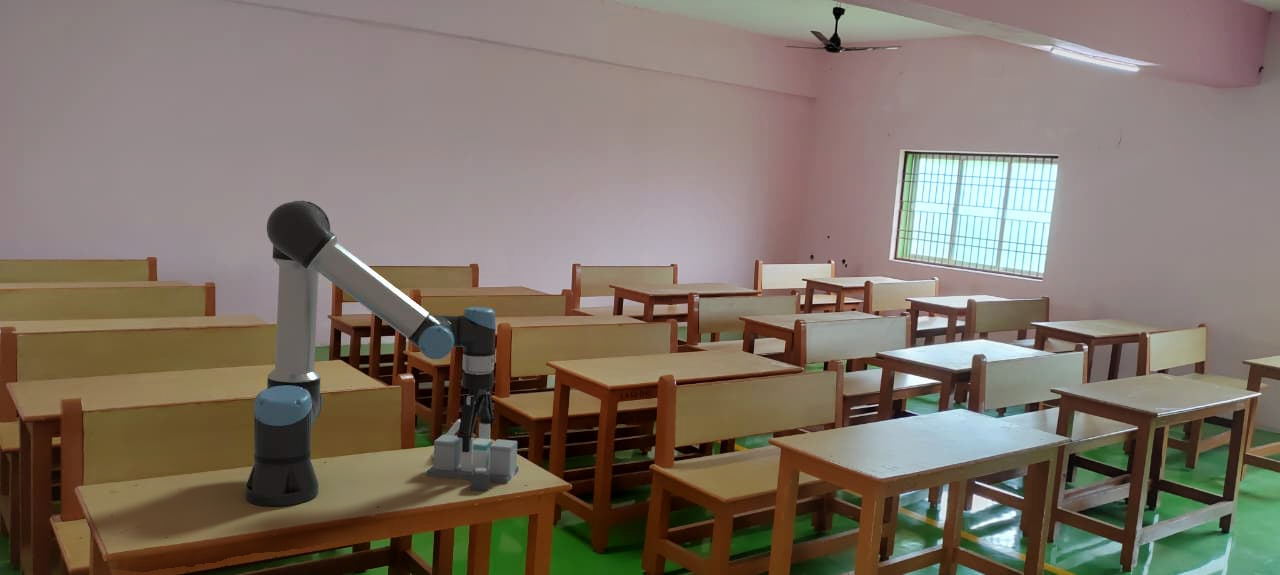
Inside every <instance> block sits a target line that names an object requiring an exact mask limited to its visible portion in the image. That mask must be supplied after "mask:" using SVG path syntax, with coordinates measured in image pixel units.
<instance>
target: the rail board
mask: <svg viewBox="0 0 1280 575" xmlns="http://www.w3.org/2000/svg"><path fill="white" fill-rule="evenodd" d="M433 445H434V447H433V449H434V450H433V452H434V458H433V465H432V466H431V467H430V468H428V469H427V470H426V477H435V478H436V477H438V478H446V479H447V478H448V479H457V480H465V481H466V480H467V481H468V480H469V481H471V474H472V472H469V471H461V467H462V464H461V438H458V437H457V435H456V434H454V435H446V434H441V435H440V436H439V437H438V438H437V439H435V440H434V442H433ZM517 453H518V441H517V440H510V439H509V440H508V439H499V438H498V439H496V440H495V441H494V442H492V445H491V446H490V480H489V483H499V484H500V483H501V484H508V483H509V482H510V481H511V480H512V478H513V477H514V476H515V475H516V474H517V473H518V472H519V466H518V465H517V460H518V459H517V457H518V454H517Z"/></svg>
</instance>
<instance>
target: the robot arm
mask: <svg viewBox="0 0 1280 575" xmlns="http://www.w3.org/2000/svg"><path fill="white" fill-rule="evenodd" d="M266 232H267V237H268V239H269V241H270V243H271V244H272V260H273V261H274V262H275V264H277V265H278V267H279V268H278V288H277V289H278V290H277V291H278V292H277V315H276V337H275V338H276V339H275V359H274V369H273V370H272V371H271V372H269V373H268V374H267V385H266V386H267V387H266V388H265V389H263V390H261V391H259V392H258V393H257V394H256V396H255V399H254V405H253V416H254V419H253V420H254V421H253V423H254V425H253V426H254V427H253V428H254V429H253V432H254V433H253V449H254V450H253V451H254V452H253V453H254V454H253V456H254V457H253V465H252V468H251V470H250V474H249V476H248V479H247V482H246V484H245V490H244V493H245V496H244V498H245V500H246V501H247V502H249V503H251V504H253V505H257V506H258V505H259V506H265V507H281V506H282V507H283V506H290V505H296V504H301V503H306V502H308V501H310V500H312V499H314V498H316V496H318V495H319V481H318V478H317V475H316V472H315V468H314V466H313V463H312V461H311V450H312V449H311V448H312V447H311V445H312V444H311V441H312V438H311V436H312V434H311V433H312V426H314V423H315V422H316V421H317V419H318V418H319V416H320V413H321V411H322V407H323V399H322V395H321V374H320V373H319V372H317V371H316V369H315V357H316V355H315V354H316V335H317V333H316V332H317V312H318V295H319V294H318V293H319V292H318V290H319V274H320V275H322V276H323V277H324V278H325V279H327V280H328V281H330V282H331V283H332V284H334V285H335V286H336V287H338V288H339V289H341V290H342V291H343V292H345V293H346V294H347V295H349V296H350V297H351V298H352V299H354V300H355V301H357V302H358V303H359V304H361V305H362V306H363V307H364V308H366V309H367V310H368V311H370V312H371V313H373V314H374V315H375V316H376V317H378V318H379V319H380V320H382V321H383V322H384V323H386V324H388V326H389V327H391V328H392V329H394V330H395V331H397V332H398V333H399V334H401V335H402V337H403V336H404V338H406V339H407V340H409V342H410V343H412V344H413V346H414V347H417V348H418V349H419V351H421V353H422V355H424V357H426V358H429V360H441V359H444V358H446V357H447V356H448V355H450V353H451V352H452V350H453V348H455V347H456V348H460V347H462V348H463V349H462V368H461V369H462V370H463V372H462V378H461V380H462V381H461V386H462V387H463V388H464V389H467V390H469V392H468V395H464V396H463V401H462V402H463V404H462V411H461V416H460V420H461V421H460V427H459V429H458V431H457V432H458V433H457V435H456V436H457V437H458V438H461V464H462V465H472V464H473V438H474V437H473V433H474V429H475V426H476V423H477V422H476V421H477V418H478V417H479V419H480V420H479V421H480V422H479V424H478V438H482V439H491V424H495V418H494V417H495V416H494V409H493V408H494V407H493V402H492V401H493V400H492V393H491V392H492V391H491V390H492V388H493V387H494V384H495V382H494V381H495V380H494V378H495V374H494V372H493V371H494V369H495V363H496V362H497V359H496V358H495V351H496V348H495V347H496V329H497V327H496V311H494V309H492V308H490V307H483V306H470V307H466V308H465V309H464V312H463V315H437V314H436V315H435V314H434V315H433V314H431V313H429V311H427V310H426V309H424V308H423V307H422V306H420V304H418V303H417V302H415V301H414V300H413V299H412V298H410V297H409V296H408V295H407V294H405V293H403V292H402V291H401V290H400V289H398V288H397V287H396V286H394V285H393V284H392V283H391V282H389V281H388V280H387V279H386V278H385V277H383V276H382V275H380V274H379V273H377V272H376V271H375V270H374V269H373V268H371V267H370V266H369V265H367V264H366V263H365V262H364V261H362V260H361V259H360V258H358V257H357V256H355V255H354V254H353V253H352V252H350V251H349V250H348V249H346V248H345V247H344V246H342V245H341V244H340V243H339V242H338V237H337V235H336V234H335V233H333V231H331V223H330V220H329V216H328V215H327V213H326V212H325V211H324V210H323V209H322V208H321V207H320V206H319V205H317V204H315V202H312V201H306V200H293V201H288V202H285V203H282V204H281V205H278V206H277V207H276V208H275V209H273V210H272V212H271V213H270V215H269V216H268V219H267V222H266Z"/></svg>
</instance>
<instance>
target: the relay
mask: <svg viewBox="0 0 1280 575" xmlns="http://www.w3.org/2000/svg"><path fill="white" fill-rule="evenodd" d="M489 480H490V469H486V468H476V469H473V470H472V474H471V480H470V491H471V492H489V490H490V482H489Z"/></svg>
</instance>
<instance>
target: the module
mask: <svg viewBox="0 0 1280 575" xmlns="http://www.w3.org/2000/svg"><path fill="white" fill-rule="evenodd" d="M472 438H473V464H472V465H462V467H461V471H469V472H472V470H473V469H476V468H486V469H490V446H491V445H492V444H493V439H491V438H490V439H482V438H479V437H472Z"/></svg>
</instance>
